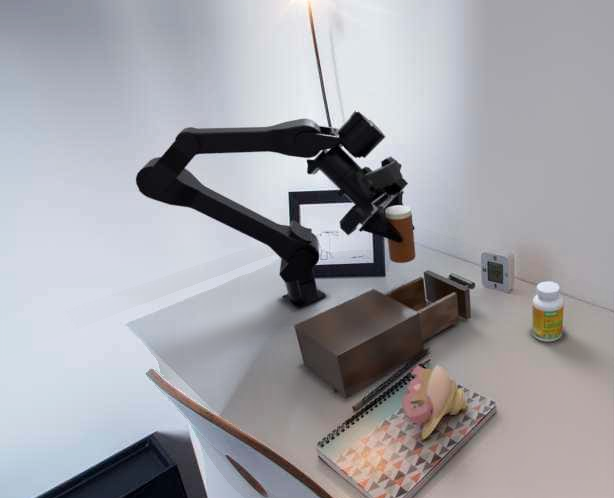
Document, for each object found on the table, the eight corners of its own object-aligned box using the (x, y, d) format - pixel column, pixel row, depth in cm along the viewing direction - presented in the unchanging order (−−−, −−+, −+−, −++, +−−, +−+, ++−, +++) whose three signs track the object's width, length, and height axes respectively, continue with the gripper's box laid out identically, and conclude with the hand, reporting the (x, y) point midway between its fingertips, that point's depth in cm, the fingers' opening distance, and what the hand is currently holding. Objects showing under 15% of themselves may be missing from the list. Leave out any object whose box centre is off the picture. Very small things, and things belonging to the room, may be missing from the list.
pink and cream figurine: (459, 390, 83) (487, 376, 75) (442, 453, 78) (470, 445, 70) (406, 369, 80) (429, 352, 72) (384, 433, 75) (407, 422, 67)
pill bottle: (384, 258, 104) (378, 211, 99) (401, 249, 107) (397, 203, 102) (403, 265, 101) (398, 216, 96) (420, 255, 105) (416, 208, 100)
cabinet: (380, 326, 99) (373, 288, 95) (423, 352, 91) (419, 312, 87) (304, 365, 89) (293, 325, 85) (346, 398, 81) (336, 356, 77)
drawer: (446, 290, 108) (443, 262, 105) (486, 308, 101) (485, 280, 98) (370, 328, 96) (365, 299, 93) (410, 353, 90) (406, 321, 86)
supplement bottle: (542, 345, 92) (543, 297, 87) (526, 330, 96) (526, 284, 91) (568, 336, 94) (570, 289, 89) (551, 322, 98) (553, 276, 93)
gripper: (345, 161, 87) (413, 230, 90) (393, 134, 102) (450, 193, 105) (311, 203, 93) (376, 266, 95) (362, 171, 108) (417, 226, 111)
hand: (407, 235), depth 102 cm, fingers closed on pill bottle, 5 cm apart
